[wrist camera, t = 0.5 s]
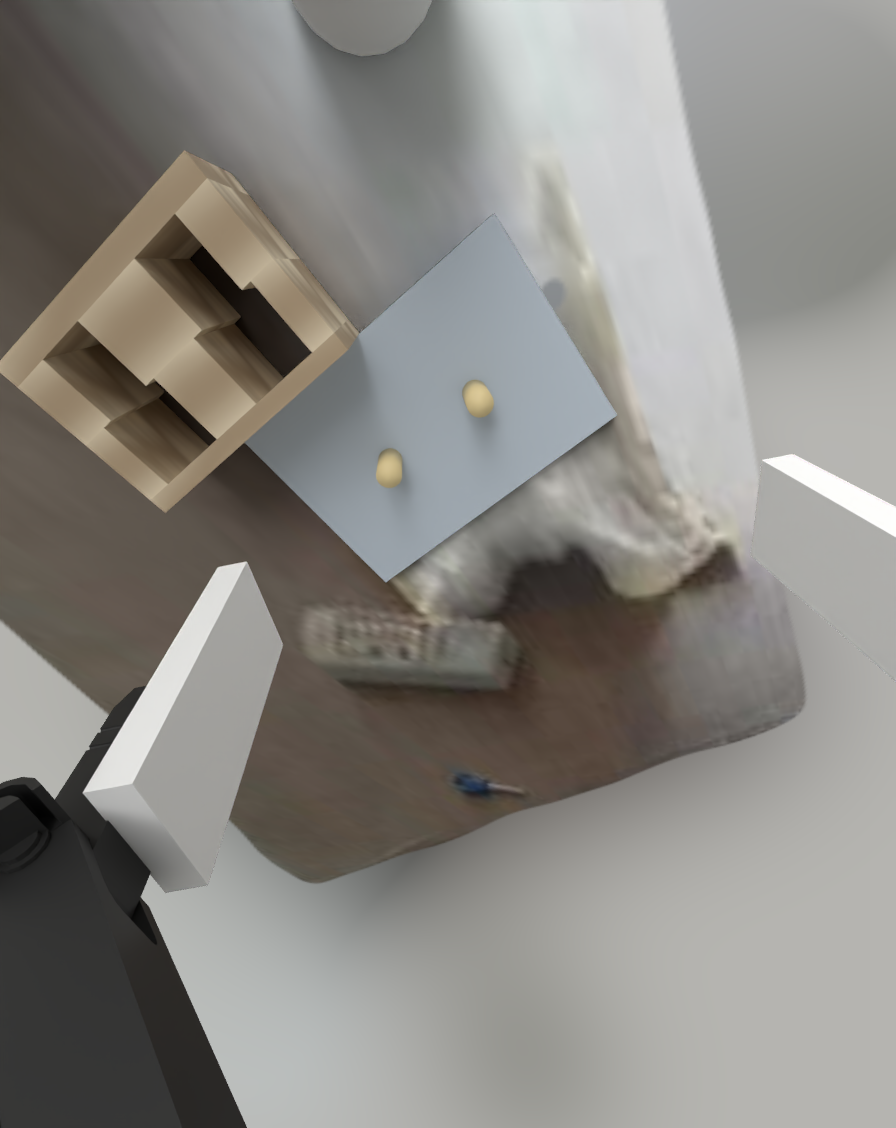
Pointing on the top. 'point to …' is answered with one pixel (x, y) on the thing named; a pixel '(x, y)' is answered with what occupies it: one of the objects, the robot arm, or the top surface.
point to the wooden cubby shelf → (174, 334)
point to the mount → (437, 407)
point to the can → (363, 22)
